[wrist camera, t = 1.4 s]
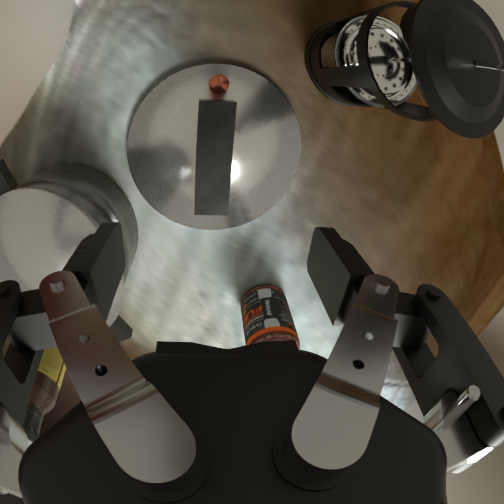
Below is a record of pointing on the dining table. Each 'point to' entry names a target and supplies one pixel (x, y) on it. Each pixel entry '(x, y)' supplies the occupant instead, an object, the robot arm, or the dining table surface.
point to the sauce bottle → (44, 391)
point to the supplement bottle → (267, 316)
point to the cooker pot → (61, 225)
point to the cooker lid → (213, 146)
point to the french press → (418, 64)
